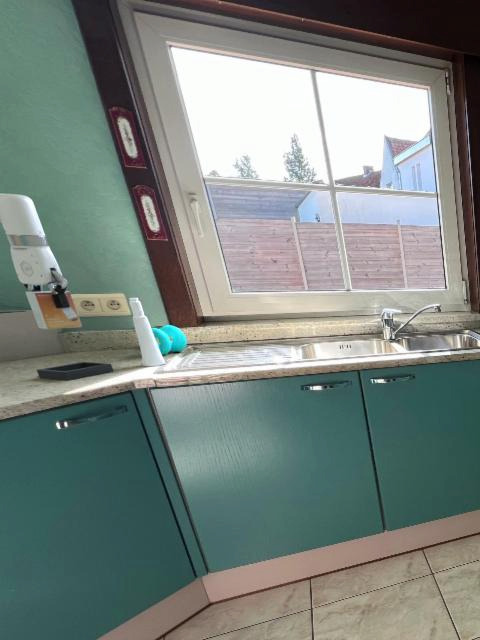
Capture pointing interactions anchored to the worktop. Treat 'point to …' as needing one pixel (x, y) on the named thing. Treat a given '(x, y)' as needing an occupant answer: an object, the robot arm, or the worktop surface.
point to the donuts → (165, 341)
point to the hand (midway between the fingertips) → (53, 306)
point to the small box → (52, 311)
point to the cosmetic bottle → (145, 336)
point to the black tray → (75, 371)
